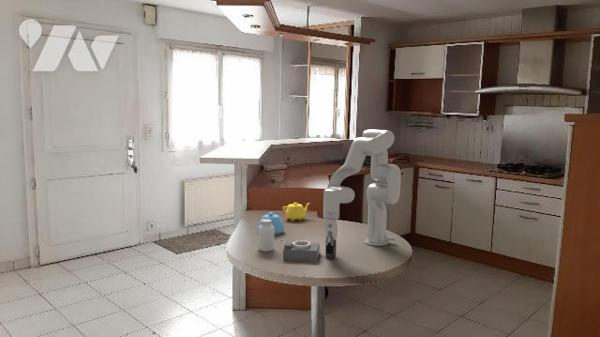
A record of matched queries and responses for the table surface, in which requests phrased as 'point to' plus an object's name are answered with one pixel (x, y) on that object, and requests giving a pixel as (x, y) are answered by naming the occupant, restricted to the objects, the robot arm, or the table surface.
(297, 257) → the camera body
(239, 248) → the table surface
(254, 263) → the table surface
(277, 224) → the sugar bowl
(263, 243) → the pill bottle
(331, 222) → the robot arm
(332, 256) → the lens
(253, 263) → the table surface
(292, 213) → the teapot
